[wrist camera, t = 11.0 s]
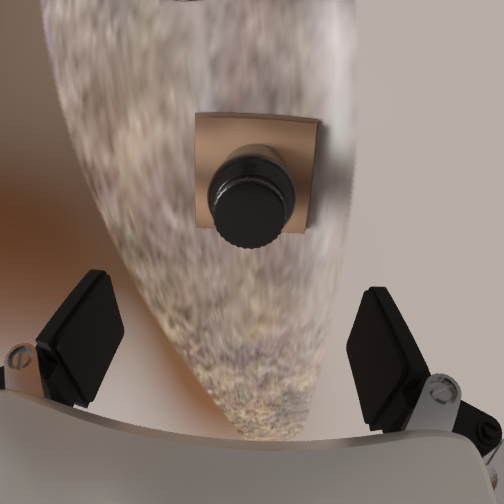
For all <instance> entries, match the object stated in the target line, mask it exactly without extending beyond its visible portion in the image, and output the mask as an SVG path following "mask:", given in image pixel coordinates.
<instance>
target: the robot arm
mask: <svg viewBox="0 0 504 504" xmlns="http://www.w3.org/2000/svg"><path fill="white" fill-rule="evenodd" d="M179 1H187V0H179ZM123 336H124V326H123V323H122V319H121V316H120V313H119V309H118V305H117V302H116V298H115V294H114V291H113V287H112V282H111V278H110V276H109V275H107V274H106V272H105V271H103V270H94V269H92V270H90V271H89V272H88V273H87V274H86V275H85V276H84V278H83V279H82V280H81V281H80V282H79V283H78V285H77V286H76V287H75V288H74V290H73V291H72V292H71V293H70V294H69V296H68V297H67V298H66V300H65V301H64V302H63V303H62V305H61V306H60V307H59V308H58V310H57V311H56V312H55V314H54V315H53V316H52V318H51V319H50V321H49V322H48V323H47V324H46V326H45V327H44V329H43V330H42V331H41V333H40V334H39V335H38V337H37V338H36V342H37V345H36V347H34V346H33V345H32V344H30V343H20V344H17V345H15V346H14V347H12V348H11V349H10V350H9V351H8V353H7V354H6V356H5V360H4V366H2V367H0V504H504V439H502V429H501V426H500V424H499V423H498V422H497V420H496V419H495V418H493V417H492V416H490V415H488V414H486V413H484V412H483V411H480V410H479V409H477V408H475V407H473V406H471V405H469V404H468V403H466V402H464V401H462V400H461V389H460V387H459V385H458V383H457V382H456V381H455V380H454V379H453V378H451V377H450V376H448V375H445V374H438V373H437V374H433V375H431V374H430V372H429V369H428V366H427V364H426V362H425V360H424V358H423V356H422V354H421V352H420V350H419V348H418V346H417V344H416V342H415V340H414V338H413V336H412V334H411V332H410V330H409V328H408V326H407V324H406V322H405V321H404V319H403V317H402V315H401V313H400V311H399V309H398V308H397V306H396V304H395V302H394V301H393V299H392V297H391V295H390V294H389V292H388V290H387V289H386V287H370V288H369V290H366V291H365V292H364V294H363V297H362V300H361V304H360V306H359V309H358V313H357V315H356V319H355V321H354V324H353V327H352V330H351V333H350V336H349V338H348V341H347V347H346V351H347V355H348V359H349V362H350V366H351V370H352V374H353V377H354V381H355V385H356V389H357V393H358V397H359V401H360V405H361V410H362V414H363V418H364V421H365V423H366V424H369V427H370V431H376V430H382V431H383V434H377V435H370V436H362V437H353V438H343V439H342V438H341V439H330V440H315V441H247V440H231V439H219V438H209V437H200V436H193V435H186V434H179V433H173V432H167V431H162V430H156V429H151V428H146V427H142V426H137V425H133V424H128V423H124V422H120V421H116V420H112V419H109V418H105V417H102V416H99V415H95V414H92V413H88V412H85V411H82V410H79V409H76V408H73V406H74V404H76V405H78V406H81V407H84V408H88V405H89V403H90V402H93V400H94V399H95V397H96V394H97V392H98V390H99V387H100V385H101V383H102V381H103V378H104V376H105V374H106V372H107V370H108V368H109V365H110V363H111V361H112V359H113V357H114V355H115V353H116V350H117V348H118V346H119V344H120V342H121V340H122V338H123Z"/></svg>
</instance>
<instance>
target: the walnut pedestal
mask: <svg viewBox="0 0 504 504" xmlns="http://www.w3.org/2000/svg"><path fill="white" fill-rule="evenodd" d="M317 129H318V119H311V118H302V117H292V116H281V115H268V114H249V113H195V222H196V228H216V226H215V225H214V220H213V218H212V216H211V214H210V211H209V208H208V204H207V190H208V185H209V183H210V180H211V178H212V176H213V174H214V173H215V171H216V170H217V169H218V167H219V166H220V165H221V164H222V163H223V161H224V160H225V159H226V158H227V157H228V155H229V154H230V153H232V152H233V151H234V150H236V149H237V148H239V147H242V146H245V145H249V144H260V145H264V146H267V147H269V148H271V149H273V150H274V151H276V152H277V153H278V154H279V155H280V156H281V157H282V159H283V160H284V162H285V164H286V166H287V168H288V170H289V172H290V175H291V177H292V179H293V182H294V185H295V189H296V206H295V210H294V213H293V215H292V217H291V219H290V221H289V222H288V223H287V225H286V226H285V227H284V228H283V229H282V231H281V232H285V233H300V234H305V231H306V226H307V219H308V211H309V204H310V195H311V187H312V178H313V170H314V160H315V150H316V140H317Z"/></svg>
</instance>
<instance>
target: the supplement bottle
mask: <svg viewBox="0 0 504 504" xmlns="http://www.w3.org/2000/svg"><path fill="white" fill-rule="evenodd" d="M207 204H208V208H209V211H210V214H211V216H212V218H213V220H214V225H215V226H216V230H217V231H218V232H219V233H220V236H221V237H223V238H224V239H225V240H226V241H228V242H230V243H231V244H232V245H236V246H237V247H242V248H244V249H246V248H250V249H253V248H260V247H261V246H266V245H267V244H268V243H271V242H272V241H273V240H274V239H276V238H277V236H278V235H279V234H280V233H281V231H282V229H283V228H284V227H285V226H286V225H287V223H288V222H289V221H290V219H291V217H292V215H293V213H294V210H295V206H296V189H295V185H294V182H293V179H292V177H291V175H290V172H289V170H288V168H287V166H286V164H285V162H284V160H283V159H282V157H281V156H280V155H279V154H278V153H277V152H276V151H274V150H273V149H271V148H269V147H267V146H264V145H260V144H249V145H245V146H242V147H239V148H237V149H236V150H234V151H233V152H232V153H230V154H229V155H228V157H227V158H226V159H225V160H224V161H223V163H222V164H221V165H220V166H219V167H218V169H217V170H216V171H215V173H214V174H213V176H212V178H211V180H210V183H209V185H208V190H207Z"/></svg>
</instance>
